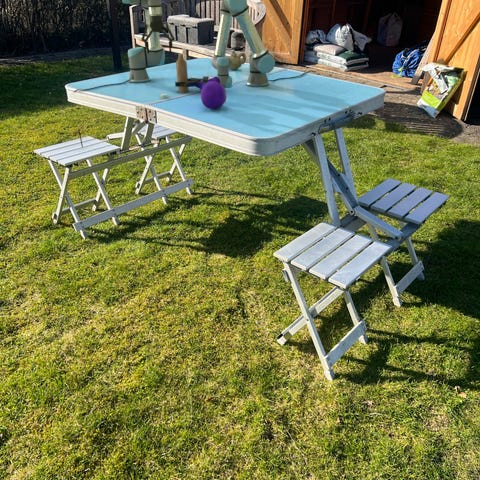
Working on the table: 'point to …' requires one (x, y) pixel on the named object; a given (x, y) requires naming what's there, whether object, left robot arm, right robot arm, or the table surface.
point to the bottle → (182, 73)
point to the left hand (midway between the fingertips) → (159, 53)
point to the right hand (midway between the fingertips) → (177, 82)
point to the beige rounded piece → (236, 60)
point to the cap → (163, 95)
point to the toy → (211, 93)
